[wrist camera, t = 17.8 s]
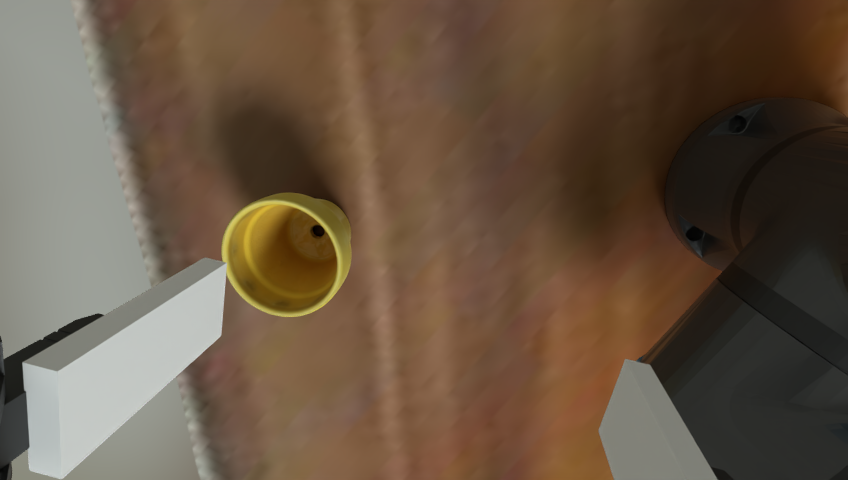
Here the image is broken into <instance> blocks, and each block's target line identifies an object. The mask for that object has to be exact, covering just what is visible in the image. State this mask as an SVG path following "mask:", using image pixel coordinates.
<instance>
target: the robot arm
mask: <svg viewBox="0 0 848 480" xmlns="http://www.w3.org/2000/svg"><path fill="white" fill-rule="evenodd" d="M665 207H666V213H667V216H668V220H669V222H670V225H671V227H672V229H673V231H674V233H675V234H676V236H677V237H678V239H679V240H680V241H681V243H682V244H683V245H684V246H685V247H686V248H687V249H688V250H690V251H691V252H692V253H693V254H695V255H696V256H697V257H698V258H700V259H701V260H703V261H704V262H705V263H707V264H709V265H711V266H713V267H714V268H717V269H719V270H721V271H723V272H722V273H721V274H720V275H719V276H718V277H717V278H716V279H715V280H714V281H713V282H712V283H711V284H710V285H709V286H708V288H707V289H706V290H705V291H704V292H703V293H702V294H701V295H700V296H699V298H698V299H697V300H696V301H695V302H694V303H693V304H692V305H691V306H690V307H689V309H688V310H687V311H686V312H685V313H684V314H683V315H682V316H681V317H680V318H679V319H678V320H677V321H676V322H675V324H674V325H673V326H672V327H671V328H670V329H669V330H668V331H667V332H666V333H665V334H664V335H663V336H662V337H661V338H660V340H659V341H658V342H657V343H656V344H655V345H654V346H653V347H652V348H651V349H650V350H649V351H648V352H647V353H646V354H645V355H644V356H642V357H640V358H639V359H638V360H636V361H632V360H628V359H625V361H624V364H623V367H622V369H621V372H620V375H619V377H618V380H617V383H616V385H615V388H614V391H613V393H612V396H611V399H610V401H609V404H608V407H607V409H606V412H605V415H604V417H603V420H602V423H601V425H600V428H599V434H600V437H601V440H602V443H603V447H604V450H605V453H606V456H607V459H608V462H609V465H610V468H611V471H612V475H613V478H614V480H848V118H847V117H846V116H844V115H843V114H841V113H840V112H838V111H837V110H835V109H833V108H831V107H829V106H826V105H824V104H821V103H818V102H815V101H811V100H806V99H800V98H779V97H771V98H760V99H754V100H749V101H745V102H742V103H739V104H736V105H734V106H731V107H729V108H727V109H725V110H723V111H721V112H719V113H717V114H715V115H714V116H712V117H711V118H709V119H708V120H707V121H705V122H704V123H703V124H702V125H700V126H699V127H698V128H697V129H696V130H695V131H694V132H693V133H692V134H691V135H690V136H689V137H688V139H687V140H686V141H685V142H684V144H683V145H682V146H681V148H680V149H679V151H678V153H677V154H676V156H675V158H674V160H673V162H672V165H671V167H670V170H669V173H668V176H667V181H666V187H665ZM226 268H227V263H226V262H222V261H217V260H213V259H209V258H203V259H201V260H200V261H198V262H196V263H195V264H193V265H191V266H189V267H188V268H186V269H184V270H182V271H181V272H179V273H177V274H175V275H174V276H172V277H170V278H168V279H167V280H165V281H163V282H161V283H160V284H158V285H156V286H154V287H153V288H151V289H149V290H148V291H146V292H144V293H142V294H141V295H139V296H137V297H135V298H134V299H132V300H130V301H128V302H127V303H125V304H123V305H121V306H120V307H118V308H116V309H114V310H113V311H111V312H109V313H108V314H106V315H102V314H95V315H92V316H88V317H84V318H81V319H78V320H75V321H73V322H72V323H69V324H68V325H66V326H64V327H62V328H60V329H59V330H58V332H53V333H51V334H49V335H48V336H46V337H44V339H43V340H39V341H37V342H35V343H33V344H31V345H29V346H28V347H26V348H24V349H22V350H20V351H18V352H16V353H15V354H13V355H11V356H9V357H7V358H5V359H4V360H3V348H2V340H1V337H0V480H11V478H12V466H11V461H12V460H13V459H15V458H16V457H18V456H19V455H20V454H22V453H23V452H24V451H25V450H27V449H28V457H29V458H28V459H29V470H30V471H33V472H37V473H40V474H44V475H47V476H51V477H55V478H59V479H63V478H64V477H65V476H66V475H67V474H68V473H69V472H71V471H72V470H73V469H74V468H75V467H76V466H77V465H78V464H79V463H80V462H82V461H83V460H84V459H85V458H86V457H87V456H88V455H89V454H90V453H92V452H93V451H94V450H95V449H96V448H97V447H98V446H99V445H100V444H102V443H103V442H104V441H105V440H106V439H107V438H108V437H109V436H110V435H111V434H113V433H114V432H115V431H116V430H117V429H118V428H119V427H120V426H122V425H123V424H124V423H125V422H126V421H127V420H128V419H129V418H130V417H132V416H133V415H134V414H135V413H136V412H137V411H138V410H139V409H140V408H142V407H143V406H144V405H145V404H146V403H147V402H148V401H149V400H150V399H152V398H153V397H154V396H155V395H156V394H157V393H158V392H159V391H160V390H162V389H163V388H164V387H165V386H166V385H167V384H168V383H169V382H170V381H172V379H174V378H175V377H176V376H177V375H178V374H179V373H180V372H182V371H183V370H184V369H185V368H186V367H187V366H188V365H189V364H190V363H192V362H193V361H194V360H195V359H196V358H197V357H198V356H199V355H200V354H202V353H203V352H204V351H205V350H206V349H207V348H208V347H209V346H210V345H212V344H213V343H214V342H215V341H216V340H217V339H218V338H219V337H220V336H221V331H222V319H223V306H224V294H225V281H226Z"/></svg>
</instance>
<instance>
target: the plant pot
mask: <svg viewBox="0 0 848 480" xmlns="http://www.w3.org/2000/svg"><path fill="white" fill-rule="evenodd" d="M316 225H319V226H322V227H323V229H324V235H323V236H321V237H319V236H316V235H315V234H314V233H313V227H314V226H316ZM350 239H351V228H350V224H349V221H348V219H347V217H346V215H345V214H344V212H343V211H342V210H341V209H340V208H339V207H338V206H337V205H335V204H333V203H332V202H330V201H327V200H324V199H314V198H312V197H310V196H307V195H303V194H299V193H278V194H274V195H270V196H267V197H264V198H262V199H259V200H257V201H255V202H252V203H250V204H249V205H247V206H245V207H244V208H242V209H241V210H240V211H239V212H237V213H236V215H235V216H234V217H233V218H232V219H231V221H230V222H229V224H228V226H227V228H226V230H225V233H224V236H223V240H222V249H221V252H222V262H226V263H227V268H226V275H227V277H228V279H229V281H230V282H231V284H232V286H233V287H234V289H235V290H236V291H237V292H238V294H239V295H240V296H241V297H242V298H243V299H244V300H246V301H247V302H248V303H249V304H251V305H252V306H254V307H255V308H257V309H259V310H261V311H263V312H266V313H269V314H272V315H276V316H283V317H295V316H302V315H306V314H309V313H311V312H314V311H316V310H318V309H319V308H321V307H322V306H324V305H325V304H326V303H327V302H328V301H329V300H330V299H331V298H332V297H333V296H334V295H335V293H336V292H337V291H338V290H339V288H340V287H341V285H342V284H343V282H344V280H345V278H346V277H347V274H348V272H349V268H350V264H351V245H350Z"/></svg>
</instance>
